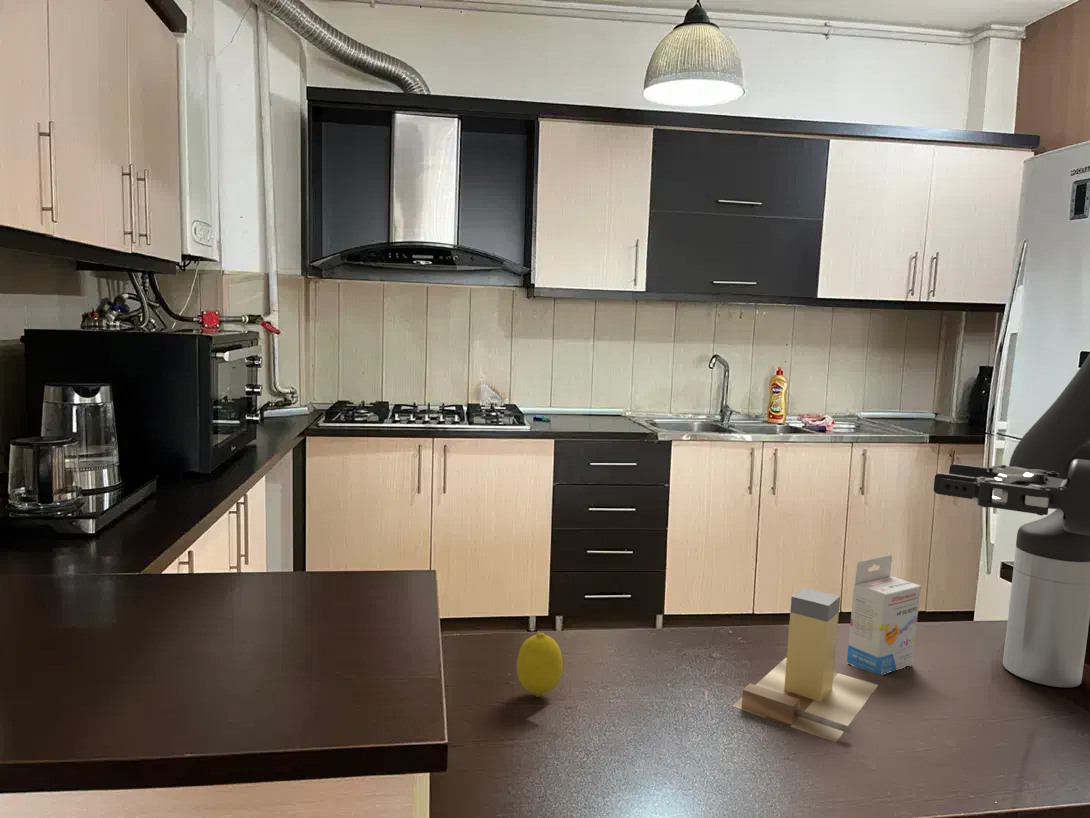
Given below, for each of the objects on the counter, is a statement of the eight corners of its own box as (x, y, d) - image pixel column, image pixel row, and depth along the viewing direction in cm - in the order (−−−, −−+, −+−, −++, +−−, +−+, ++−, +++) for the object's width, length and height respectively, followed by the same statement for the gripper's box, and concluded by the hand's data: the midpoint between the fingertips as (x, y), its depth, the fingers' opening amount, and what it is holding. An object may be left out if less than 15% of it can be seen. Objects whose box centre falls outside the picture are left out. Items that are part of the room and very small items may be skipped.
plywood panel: (785, 666, 105) (785, 657, 105) (877, 693, 98) (878, 685, 98) (731, 715, 91) (732, 705, 91) (835, 752, 84) (836, 742, 84)
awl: (748, 700, 92) (750, 683, 92) (852, 735, 85) (854, 717, 85) (741, 707, 90) (742, 689, 90) (846, 743, 83) (848, 724, 83)
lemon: (567, 692, 95) (571, 630, 94) (549, 711, 90) (552, 646, 89) (527, 681, 97) (530, 620, 96) (507, 700, 92) (510, 636, 91)
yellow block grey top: (796, 677, 99) (804, 587, 98) (832, 688, 96) (840, 596, 95) (784, 689, 95) (791, 596, 94) (820, 701, 93) (828, 605, 91)
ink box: (878, 679, 102) (888, 571, 101) (845, 664, 107) (854, 561, 105) (914, 666, 107) (924, 563, 106) (881, 652, 111) (890, 553, 110)
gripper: (1128, 457, 81) (956, 438, 91) (1129, 474, 70) (932, 450, 79) (1120, 526, 82) (950, 500, 91) (1119, 554, 70) (925, 521, 80)
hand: (942, 477), depth 85 cm, fingers open, 8 cm apart
